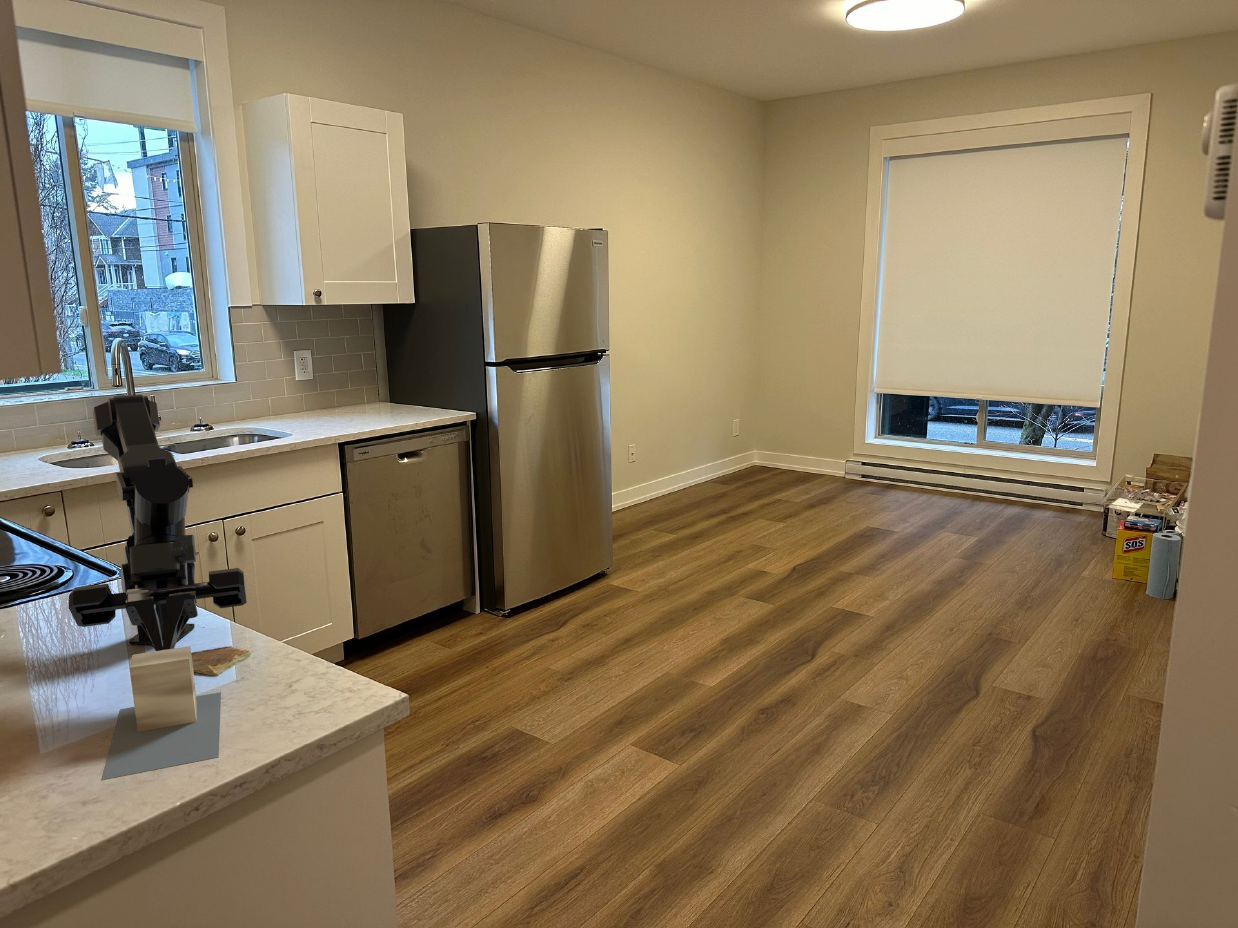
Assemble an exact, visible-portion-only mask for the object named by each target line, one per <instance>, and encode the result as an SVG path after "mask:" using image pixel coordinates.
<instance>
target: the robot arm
mask: <svg viewBox="0 0 1238 928" xmlns="http://www.w3.org/2000/svg"><path fill="white" fill-rule="evenodd" d="M92 411H93V412H92V417H93V418H92V421H93V427H94V433H95V436H96V437H97V436H99V437H100V438H101V442H102V443H101V444H102V448H103V450H104V452H106V453H107V454H108V455H110V456H111V457H112V458H113V459H115V460H116V461H117V463H118V468H119V472H116V473H115V480H116V488H117V493H118V498H119V500H120V501H124V502H125V506H126V508H127V509H126V510H127V514H128V515H127V516H128V520H129V526H130V530H131V535H129V536H128V538H127V539H126V545H125V547H124V563H121V564H120V583H121V591H122V592H116V593H112V590H111V588H110V586H109V583H100V584H94V585H93V584H92V585H86V586H85V585H84V586H75V587H74V588H73V589H72V590H71V592H70V593H69V594H68V610H69V611H70V614H71V616H72V618H73V620H74V622H75V623H76V625H77V626H78V627H83V628H86V627H94V626H101V625H108V624H110V623H111V622H112V621H113V620H114V619H115V618H116V616H117V615H116V614H117V610H123V609H124V610H125V611H126V615H127V616H128V619H129V621H130V622H129V623H130V624H131V625H132V626H136V629H137V631H136V632H137V634H135V635H134V636H133V637H130V638H129V639H128V644H129V645H152V646H153V649H154V651H161V650H168V649H174V648H176V644H177V642H178V641H179V640H181V639H182V638H183V637H185V636H186V634H188V633H189V632H191V631H192V630H194V629H195V623H188V622H189V620H190V619H193V618H197V617H198V615H199V613H198V608H197V603H198V600H201V599H208V598H212V603H213V604H214V605H215V606H216V607H217V608H219V609H226V608H233V607H234V608H235V607H240V606H245V605H246V604H248V603H247V602H248V601H247V592H246V591H247V589H246V581H245V575H244V571H243V570H242V569H240V568H239V567H235V568H225V569H218V570H210V571H208V581H206V582H195V570H196V569H195V567H196V565H195V563H196V562H197V551H196V541H195V535H194V534H186V514H187V510H188V501H189V500H188V497H189V493H190V489H192V488H194V481H193V478H192V477H191V475H189V474H188V473H187V472H186V471H185V469H184V468H183V466H181V465H179V466H178V465H177V462H176V459H175V457H174V455H173V452H171V451H169V450H167V449H164V448H162V447H160V445H159V441H158V439H157V436H156V431H159V429H160V426H161V423H160V415H159V410H158V404H157V402H155V401H153V400H150V399H149V397H148V395H143V394H131V395H130V394H129V395H115V396H113V397H111V398H108V401H106V402H103V403H101V404H99V405H96V406H93V410H92Z"/></svg>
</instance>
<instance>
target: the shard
mask: <svg viewBox="0 0 1238 928" xmlns="http://www.w3.org/2000/svg"><path fill="white" fill-rule="evenodd" d="M191 655H192V664H193V673H197V674H205V675H210V676H216V677H219V676H220V675H222V674H224V673H225V672H226V671H228V670H229V669H231V668H233V667H235V666H236V665H238V664H239V663H242V662H244V661H245V660H246V659H248V658H250V657H251V655H252V650H250V649H243V648H238V647H233V646H231V645H230V646H224V647H223V646H222V647H216V648H212V649H205V650H199V651H194V652H192V651H191Z"/></svg>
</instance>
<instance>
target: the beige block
mask: <svg viewBox="0 0 1238 928" xmlns="http://www.w3.org/2000/svg"><path fill="white" fill-rule="evenodd" d="M191 647H192V646H189V645H188V646H181V647H177V648H176V647H174V649H168V650H161V651H155V650H154V651H148V652H141V653H136V654H135V653H134V654H132V657H131V659H130V660H131V661H130V663H129V673H130V682H131V690H132V696H133V697H132V698H133V705H134V706H133V707H135V714H136V721H137V729H138V732H140V731H146V730H152V729H157V728H163V727H168V726H174V725H180V724H185V723H191V722H196V718H197V699H196V696H197V694H196V693H197V691H196V682H195V672H193V664H192V655H191V653H192V648H191Z"/></svg>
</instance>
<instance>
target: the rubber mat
mask: <svg viewBox="0 0 1238 928" xmlns="http://www.w3.org/2000/svg"><path fill="white" fill-rule="evenodd" d="M196 699H197V718H196V722H191V723H185V724H180V725H174V726H168V727H163V728H157V729H152V730H146V731H140V732H138V729H137V721H136V714H135V706H131V707H125V708H124V707H123V708H120V709H119V714H118V716H117V720H116V725H115V728H114V732H113V736H112V740H111V742H110V747H109V750H108V755H107V759H106V760H105V765H104V770H103V774H102V778H101V781H105V780H110V779H115V778H121V777H125V776H131V775H136V774H141V773H145V772H147V773H148V772H150V771H151V772H152V771H156V770H161V769H165V768H166V769H167V768H171V767H176V766H177V767H178V766H181V765H187V764H192V763H196V762H197V763H198V762H202V761H207V760H212V759H216V758H219V756H220V755H219V754H220V753H219V752H220V732H221V731H220V730H221V704H222V701H221V700H222V692H220V691H218V692H214V693H207V694H202V695H196Z"/></svg>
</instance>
